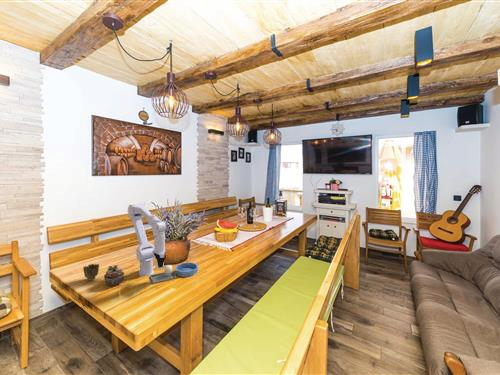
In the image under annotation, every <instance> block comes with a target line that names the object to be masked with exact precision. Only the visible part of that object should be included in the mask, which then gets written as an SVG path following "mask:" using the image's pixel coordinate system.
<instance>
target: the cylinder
mask: <svg viewBox="0 0 500 375" xmlns="http://www.w3.org/2000/svg"><path fill="white" fill-rule="evenodd" d="M172 271H173V265H172V264H166V265H164V272H165V277H170V276H172Z"/></svg>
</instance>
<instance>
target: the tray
mask: <svg viewBox="0 0 500 375" xmlns="http://www.w3.org/2000/svg"><path fill="white" fill-rule="evenodd" d="M177 277H178V276H177V275H176V273H175V271H173V270H172V276H170V277H165V271H163V272H159V273H154V274H152V275H149V278H150V280H151V283H152V285H155V284H159V283H160V284H161V283H163V282H164V283H165V282H169V281H173V280H175V279H177Z"/></svg>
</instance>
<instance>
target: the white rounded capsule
mask: <svg viewBox="0 0 500 375" xmlns="http://www.w3.org/2000/svg"><path fill="white" fill-rule="evenodd" d="M164 264H165V262H164V263H163V267H161V268H159V267H158V262H157V259H156V258H155V270H158V271H160V270H163V269H165V265H164Z"/></svg>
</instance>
